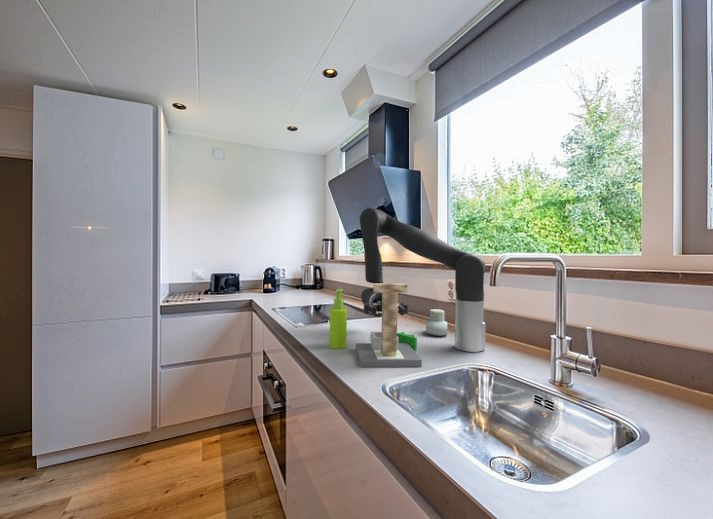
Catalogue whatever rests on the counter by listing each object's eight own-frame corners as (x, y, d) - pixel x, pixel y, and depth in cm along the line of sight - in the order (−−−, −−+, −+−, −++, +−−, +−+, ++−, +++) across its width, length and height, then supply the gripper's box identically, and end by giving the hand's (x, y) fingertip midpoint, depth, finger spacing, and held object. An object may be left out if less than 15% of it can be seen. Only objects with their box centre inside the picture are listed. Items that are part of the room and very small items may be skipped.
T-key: (403, 351, 98) (404, 283, 97) (406, 356, 94) (408, 284, 93) (371, 352, 97) (373, 283, 97) (373, 356, 93) (374, 284, 93)
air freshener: (426, 330, 136) (427, 307, 136) (446, 332, 134) (447, 308, 133) (425, 336, 125) (426, 312, 125) (447, 338, 123) (447, 313, 123)
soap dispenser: (347, 343, 113) (348, 288, 113) (345, 349, 106) (346, 290, 106) (331, 342, 114) (332, 288, 114) (327, 348, 107) (329, 290, 107)
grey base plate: (407, 348, 109) (407, 331, 108) (421, 366, 92) (422, 346, 92) (355, 349, 107) (356, 331, 107) (360, 367, 90) (360, 346, 90)
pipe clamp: (420, 349, 109) (421, 336, 109) (414, 351, 106) (414, 338, 106) (396, 342, 117) (396, 329, 117) (389, 343, 115) (389, 331, 115)
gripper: (361, 292, 112) (366, 299, 95) (400, 293, 113) (412, 300, 97) (360, 313, 112) (365, 324, 96) (399, 313, 113) (411, 324, 97)
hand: (389, 312), depth 96 cm, fingers open, 8 cm apart
